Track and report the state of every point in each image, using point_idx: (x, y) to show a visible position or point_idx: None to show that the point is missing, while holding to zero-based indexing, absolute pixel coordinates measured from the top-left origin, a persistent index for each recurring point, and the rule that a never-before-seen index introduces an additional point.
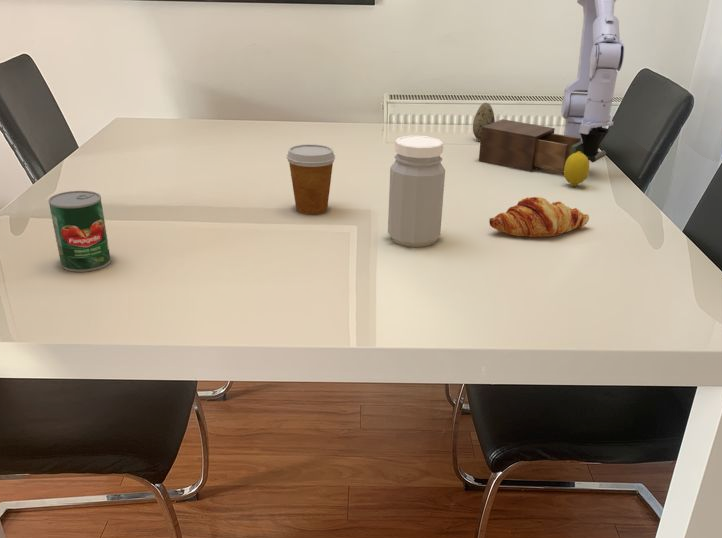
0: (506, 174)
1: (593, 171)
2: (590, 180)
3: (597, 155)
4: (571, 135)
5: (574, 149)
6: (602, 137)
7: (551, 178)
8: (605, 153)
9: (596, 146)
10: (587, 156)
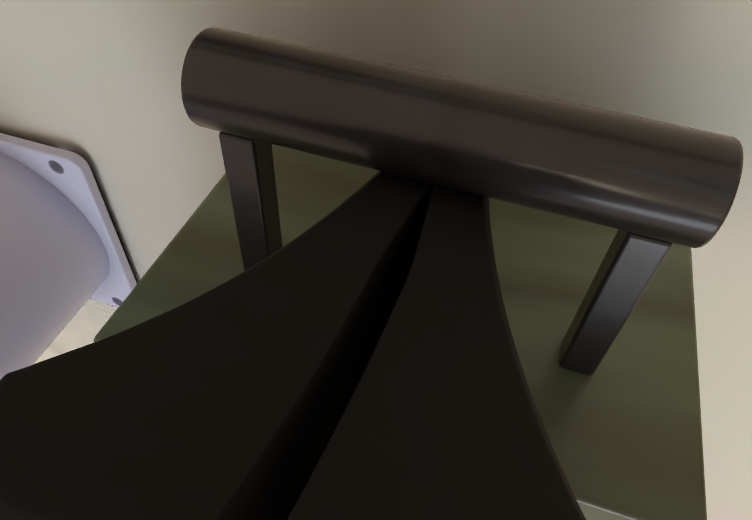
0: (707, 510)
1: (267, 37)
2: (658, 6)
3: (571, 167)
4: (5, 369)
5: (699, 504)
6: (299, 397)
7: (718, 331)
8: (221, 46)
9: (503, 317)
10: (625, 281)
